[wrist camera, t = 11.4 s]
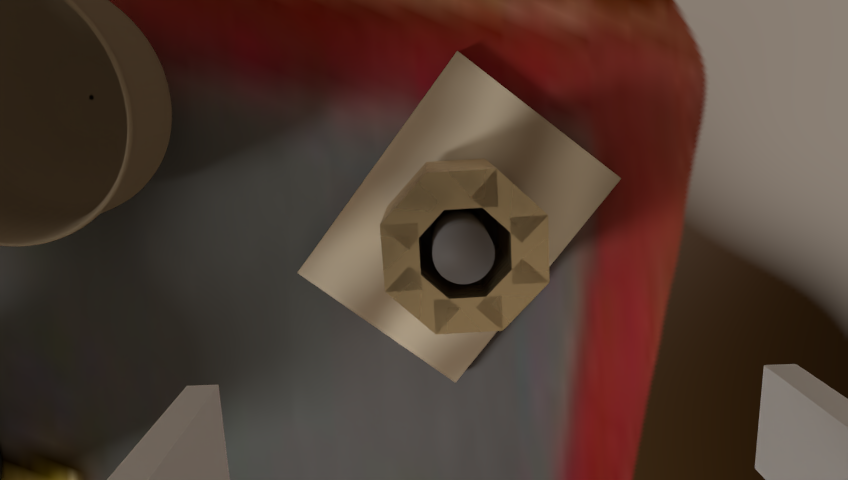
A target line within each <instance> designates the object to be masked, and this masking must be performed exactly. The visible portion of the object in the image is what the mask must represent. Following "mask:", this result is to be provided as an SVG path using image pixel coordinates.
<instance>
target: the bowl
mask: <svg viewBox="0 0 848 480" xmlns="http://www.w3.org/2000/svg"><path fill="white" fill-rule="evenodd" d="M171 126H172V104H171V96H170V91H169V86H168V82H167V79H166V76H165V73H164V70H163V68H162V65H161V63H160V61H159V59H158V57H157V55H156V53H155V51H154V49H153V48H152V46H151V44H150V43H149V41H148V40H147V38H146V37H145V36H144V34H143V33H142V32H141V30H140V29H139V28H138V27H137V26H136V25H135V23H134V22H133V21H132V20H131V19H130V18H129V17H128V16H127V15H126V14H125V13H123V12H122V11H121V10H120V9H119V8H118V7H116V6H115V5H114V4H112V3H111V2H110V1H108V0H0V246H32V245H39V244H44V243H49V242H52V241H55V240H58V239H61V238H64V237H66V236H68V235H71V234H73V233H74V232H76V231H78V230H80V229H82V228H83V227H84V226H86V225H87V224H89V223H90V222H91V221H93V220H94V219H95V218H96V217H97V216H98V215H99V214H101V213H104V212H106V211H108V210H111V209H113V208H115V207H117V206H119V205H120V204H122V203H124V202H126V201H127V200H129V199H130V198H132V197H133V196H134V195H136V194H137V193H138V192H139V191H140V190H141V189H142V188H143V187H144V186H145V185H146V184H147V183H148V182H149V180H150V179H151V178H152V176H153V175H154V174H155V172H156V171H157V169H158V167H159V166H160V164H161V162H162V160H163V158H164V155H165V153H166V150H167V147H168V143H169V139H170V134H171Z"/></svg>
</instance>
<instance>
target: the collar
mask: <svg viewBox="0 0 848 480" xmlns="http://www.w3.org/2000/svg"><path fill="white" fill-rule="evenodd" d="M469 208H483V209H484V210H486V211H487V212H488V213H489V214H490V215H491V216H492V217H493V218H495V219H496V220H497V244H496V245H495V246H494V249H495V258H494V262H493V265H492V267H491V269H490V271H489V272H488V273H487V274H486V275H485V276H484V277H483V278H482V279H480V280H478V281H476V282H474V283H470V284H456V283H453V282H450V281H448V280H447V279H445V278H444V277H443V276H441V275H440V273H439V272H438V271H437V269H436V267H435V265H434V262H433V257H432V256H431V255H430V254H429V253H428V252H427V251H426V250H424V249H423V248H422V244H421V235H422V234H423V233H424V232H425V231H426V229H427V228H428V227H429V226H430V225H431V224H432V223H433V222H434V221H435V220H436V218H437V217H438V216H439V215H440V214H441V213H442V212H443V211H444V210H452V209H469ZM380 235H381V248H382V261H383V273H384V286H385V292H386V293H387V294H388V295H389V296H390V297H392V298H393V299H394V300H395V301H396V302H398V303H399V304H400V305H401V306H402V307H404V308H405V309H406V310H407V311H408V312H410V313H411V314H412V315H413V316H414V317H416V318H417V319H418V320H419V321H420V322H422V323H423V324H424V325H425V326H426V327H427V328H429V329H430V330H431V331H432V332H433V333H435V334H454V333H471V332H489V331H503V330H504V329H505V328H506V327H507V326H508V325H509V324H510V323H511V322H512V321H513V320H514V318H515V317H516V316H517V315H518V314H519V313H520V312H521V311H522V310H523V309H524V308H525V307H526V306H527V305H528V304H529V303H530V302H531V301H532V300H533V299H534V298H535V297H536V296H537V295H538V294H539V293H540V292H541V291H542V289H543V288H544V287H545V286H546V285H547V284H548V283H549V228H548V214H547V213H545V212H544V211H543V210H542V209H541V208H540V207H539V206H538V205H537V204H535V203H534V202H533V201H532V200H531V199H530V198H529V197H528V196H527V195H525V194H524V193H523V192H522V191H521V190H520V189H519V188H518V187H517V186H516V185H514V184H513V183H512V182H511V181H510V180H509V179H508V178H507V177H506V176H505V175H503V174H502V173H501V172H500V171H499V170H498V169H497V168H496V167H495V166H493V165H492V164H491V163H490V162H488V161H487V160H486V159H485V158H482V159H466V160H450V161H434V162H426V163H425V164H424V165H423V166H422V167H421V168H420V169H419V170H418V172H417V173H416V174H415V175H414V176H413V177H412V178H411V180H410V181H409V182H408V183H407V184H406V185H405V186H404V188H403V189H402V190H401V191H400V192H399V193H398V194H397V195H396V197H395V198H394V199H393V200H392V201H391V202H390V203H389V205H388V206H387V208H386V211H385V213H384V216H383V218H382V221H381V223H380Z"/></svg>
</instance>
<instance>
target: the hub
mask: <svg viewBox="0 0 848 480" xmlns="http://www.w3.org/2000/svg"><path fill="white" fill-rule="evenodd" d="M482 158H485V159H486V160H487V161H488V162H490V163H491V164H492V165H493V166H495V167H496V168H497V169H498V170H499V171H500V172H501V173H502V174H503V175H505V176H506V177H507V178H508V179H509V180H510V181H511V182H512V183H513V184H514V185H516V186H517V187H518V188H519V189H520V190H521V191H522V192H523V193H524V194H525V195H527V196H528V197H529V198H530V199H531V200H532V201H533V202H534V203H535V204H537V205H538V206H539V207H540V208H541V209H542V210H543V211H544V212H545V213H547V214H548V228H549V267H550V266H551V264H552V263H553V262H554V261H555V260H556V258H557V257H558V256H559V255H560V253H561V252H562V251H563V250H564V248H565V247H566V246H567V245H568V244H569V242H570V241H571V240H572V239H573V237H574V236H575V235H576V234H577V232H578V231H579V230H580V229H581V227H582V226H583V225H584V224H585V223H586V221H587V220H588V219H589V218H590V216H591V215H592V214H593V213H594V211H595V210H596V209H597V208H598V207H599V205H600V204H601V203H602V202H603V200H604V199H605V198H606V197H607V195H608V194H609V193H610V192H611V191H612V189H613V188H614V187H615V186H616V184H617V183H618V182H619V181H620V179H621V178H620V177H619V176H617V175H616V174H615V173H614V172H612V171H611V170H610V169H608V168H607V167H606V166H605V165H603V164H602V163H601V162H599V161H598V160H597V159H596V158H594V157H593V156H592V155H590V154H589V153H588V152H587V151H585V150H584V149H583V148H581V147H580V146H579V145H578V144H576V143H575V142H574V141H573V140H571V139H570V138H569V137H567V136H566V135H565V134H564V133H562V132H561V131H560V130H558V129H557V128H556V127H555V126H553V125H552V124H551V123H549V122H548V121H547V120H546V119H544V118H543V117H542V116H540V115H539V114H538V113H537V112H535V111H534V110H533V109H531V108H530V107H529V106H528V105H526V104H525V103H524V102H522V101H521V100H520V99H519V98H517V97H516V96H515V95H513V94H512V93H511V92H510V91H508V90H507V89H506V88H504V87H503V86H502V85H501V84H499V83H498V82H497V81H496V80H494V79H493V78H492V77H490V76H489V75H488V74H487V73H485V72H484V71H483V70H481V69H480V68H479V67H478V66H476V65H475V64H474V63H472V62H471V61H470V60H469V59H467V58H466V57H465V56H463V55H462V54H461V53H460V52H458V51H457V52H456V53H455V55H454V56H453V57H452V59H451V60H450V62H449V63H448V64H447V66H446V67H445V69H444V70H443V71H442V73H441V74H440V76H439V77H438V78H437V80H436V81H435V82H434V84H433V85H432V87H431V88H430V89H429V91H428V92H427V94H426V95H425V96H424V98H423V99H422V101H421V102H420V103H419V105H418V106H417V107H416V109H415V110H414V112H413V113H412V114H411V116H410V117H409V119H408V120H407V121H406V123H405V124H404V125H403V127H402V128H401V130H400V131H399V132H398V134H397V135H396V137H395V138H394V139H393V141H392V142H391V144H390V145H389V146H388V148H387V149H386V150H385V152H384V153H383V155H382V156H381V157H380V159H379V160H378V162H377V163H376V164H375V166H374V167H373V169H372V170H371V171H370V173H369V174H368V175H367V177H366V178H365V180H364V181H363V182H362V184H361V185H360V187H359V188H358V189H357V191H356V192H355V194H354V195H353V196H352V198H351V199H350V200H349V202H348V203H347V205H346V206H345V207H344V209H343V210H342V212H341V213H340V214H339V216H338V217H337V218H336V220H335V221H334V223H333V224H332V225H331V227H330V228H329V230H328V231H327V232H326V234H325V235H324V237H323V238H322V239H321V241H320V242H319V243H318V245H317V246H316V248H315V249H314V250H313V252H312V253H311V255H310V256H309V257H308V259H307V260H306V262H305V263H304V264H303V266H302V267H301V268H300V270H299V271H298V274H300V275H301V276H302V277H304V278H305V279H307V280H308V281H310V282H311V283H313V284H314V285H315V286H317V287H318V288H320V289H321V290H323V291H324V292H326V293H327V294H328V295H330V296H331V297H333V298H334V299H336V300H337V301H339V302H340V303H341V304H343V305H344V306H346V307H347V308H349V309H350V310H352V311H353V312H354V313H356V314H357V315H359V316H360V317H362V318H363V319H365V320H366V321H367V322H369V323H370V324H372V325H373V326H375V327H376V328H377V329H379V330H380V331H382V332H383V333H385V334H386V335H388V336H389V337H390V338H392V339H393V340H395V341H396V342H398V343H399V344H401V345H402V346H403V347H405V348H406V349H408V350H409V351H411V352H412V353H414V354H415V355H416V356H418V357H419V358H421V359H422V360H424V361H425V362H427V363H428V364H429V365H431V366H432V367H434V368H435V369H437V370H438V371H440V372H441V373H442V374H444V375H445V376H447V377H448V378H450V379H451V380H452V381H454V382H455V383H456V381H457V380H458V379H459V378H460V377H461V375H462V374H463V373H464V372H465V370H466V369H467V368H468V367H469V365H470V364H471V363H472V362H473V361H474V359H475V358H476V357H477V356H478V354H479V353H480V352H481V351H482V349H483V348H484V347H485V346H486V345H487V343H488V342H489V341H490V340H491V338H492V337H493V336H494V335H495V333H496V332H497V331H489V332H471V333H454V334H435V333H433V332H432V331H431V330H430V329H429V328H427V327H426V326H425V325H424V324H423V323H422V322H420V321H419V320H418V319H417V318H416V317H414V316H413V315H412V314H411V313H410V312H408V311H407V310H406V309H405V308H404V307H402V306H401V305H400V304H399V303H398V302H396V301H395V300H394V299H393V298H392V297H390V296H389V295H388V294H387V293H386V292H385V286H384V273H383V261H382V248H381V235H380V223H381V221H382V218H383V216H384V213H385V211H386V208H387V206H388V205H389V203H390V202H391V201H392V200H393V199H394V198H395V197H396V195H397V194H398V193H399V192H400V191H401V190H402V189H403V188H404V186H405V185H406V184H407V183H408V182H409V181H410V180H411V178H412V177H413V176H414V175H415V174H416V173H417V172H418V170H419V169H420V168H421V167H422V166H423V165H424V164H425V163H426V162H434V161H450V160H466V159H482ZM421 244H422V248H423V249H424V250H426V251H427V252H428V253H429V254H430V255H431V256H432V257H433V262H434V265H435V267H436V269H437V271H438V272H439V273H440V275H441V276H443V277H444V278H445V279H447V280H448V281H450V282H453V283H456V284H470V283H474V282H476V281H478V280H480V279H482V278H483V277H484V276H485V275H486V274H487V273H488V272H489V271H490V269H491V267H492V265H493V262H494V258H495V249H494V246H495V245H496V244H497V220H496V219H495V218H493V217H492V216H491V215H490V214H489V213H488V212H487V211H486V210H484V209H483V208H469V209H452V210H444V211H443V212H442V213H441V214H440V215H439V216H438V217H437V218H436V220H435V221H434V222H433V223H432V224H431V225H430V226H429V227H428V228H427V229H426V231H425V232H424V233H423V234H422V235H421Z"/></svg>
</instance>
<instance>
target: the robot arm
mask: <svg viewBox="0 0 848 480" xmlns="http://www.w3.org/2000/svg"><path fill="white" fill-rule="evenodd" d="M755 469H756V470H757V471H758V472H759V473H760V474H761V475H762V476H763V477H764V479H765V480H848V399H847V398H845V397H844V396H842V395H841V394H839V393H838V392H836V391H835V390H833V389H831V388H830V387H829V386H827V385H826V384H825V383H823V382H822V381H820V380H819V379H817V378H816V377H814V376H813V375H811V374H810V373H808V372H807V371H805V370H804V369H802V368H801V367H799V366H798V365H797V364H785V365H764V371H763V382H762V394H761V405H760V417H759V427H758V439H757V450H756V461H755ZM1 475H2V462H1V454H0V480H1ZM107 480H230V478H229V470H228V461H227V453H226V444H225V436H224V427H223V419H222V410H221V402H220V393H219V385H194V386H186V387H185V388H184V390H183V391H182V392H181V393H180V394H179V396H178V397H177V398H176V399H175V400H174V401H173V403H172V404H171V405H170V406H169V407H168V408H167V410H166V411H165V412H164V413H163V414H162V415H161V417H160V418H159V419H158V420H157V421H156V423H155V424H154V425H153V426H152V427H151V428H150V430H149V431H148V432H147V433H146V434H145V435H144V437H143V438H142V439H141V440H140V441H139V443H138V444H137V445H136V446H135V447H134V448H133V450H132V451H131V452H130V453H129V454H128V455H127V457H126V458H125V459H124V460H123V461H122V463H121V464H120V465H119V466H118V467H117V468H116V470H115V471H114V472H113V473H112V474H111V475H110V477H109V478H108V479H107Z"/></svg>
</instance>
